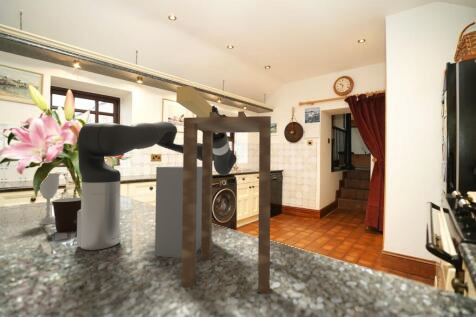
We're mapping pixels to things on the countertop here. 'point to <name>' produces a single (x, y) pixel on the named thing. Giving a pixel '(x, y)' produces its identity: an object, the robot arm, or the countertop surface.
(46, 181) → the chalice
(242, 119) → the stool
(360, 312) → the countertop surface
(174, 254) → the block
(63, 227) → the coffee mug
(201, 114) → the yellow bar
